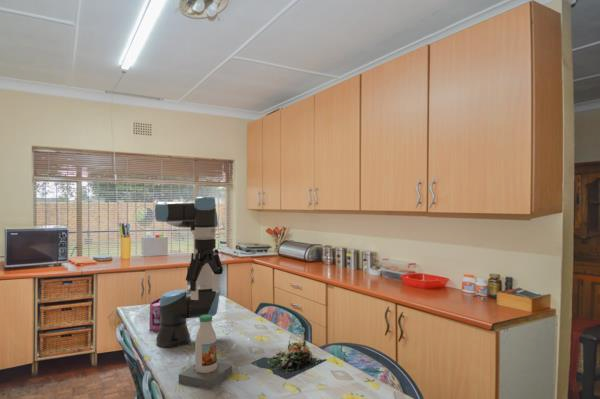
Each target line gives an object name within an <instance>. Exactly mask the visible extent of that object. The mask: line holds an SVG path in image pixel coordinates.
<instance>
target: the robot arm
mask: <svg viewBox="0 0 600 399" xmlns="http://www.w3.org/2000/svg"><path fill="white" fill-rule="evenodd" d="M216 208H217V206H216V198H215V197H213V196H197V197H195V199H194V201H181V202H180V201H179V202H177V201H174V202H173V201H171V202H169V201H162V202H156V203H155V205H154V217H155V221H156V222H158V223H159V222H160V223H167V225H170V226H173V227H177V228H182V229H183V228H184V229H185V228H190V233H192V234H193V253H191V256H190V257H191V258H190V263H189V267H188V269H187V270H188V271H187V274H186V276H185V281H186V282H189V286H190V287H189V291H190V292H187V291H186V289H175V290H170V291H167V292H164V293H163V294H162V295H161V296H160V297H159V298H160V329H159V330H158V332H157V336H156V339H155V344H156V345H157V346H158V347H160V348H176V347H181V346H184V345H186V344H188V343H190V342H191V333H190V332H189V328H188V324H187V319H197V318H200V316H201V315H212V317H214V316H216V315H217V313H218V309H219V300H220V299H219V298H220V280H221V279H220V278H221V277H220V275H222V274H223V271H224V268H223V264H222V262H221V258H220V255H219V249H218V248H216V246H217V243H216V228H217V227H219V221H218V214H217V209H216Z"/></svg>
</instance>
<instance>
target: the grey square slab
mask: <svg viewBox="0 0 600 399" xmlns="http://www.w3.org/2000/svg"><path fill="white" fill-rule="evenodd" d="M195 371H196V368H195V363H194V364H193V365H191V366H190V367H188V368H186V369H185V370H183V371H182V372H180V373H178V383H179V384H183V383H184V385H188V384H189V386H193V385H194V387H198V386H199V388H203V387H204V388H203V389H208V390H212V389H213V388H215V387H216V386H218V385H219V384H221V382H222V381H224V380H225V379H226V378H228V377H229V376H230V375H231V374H233V364H229V363H223V362H218V361H217V369H216V370H215V371H213V372H211V373H210V374H209V375H208V374H203V373H197V372H195Z"/></svg>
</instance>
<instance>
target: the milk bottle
mask: <svg viewBox="0 0 600 399" xmlns="http://www.w3.org/2000/svg"><path fill="white" fill-rule="evenodd" d="M198 318H199V319H198V320H199V328H198V330H197V333H196V335H195V346H194V347H195V349H194V350H195V351H194V353H195V356H194V358H195V359H194V360H195V363H194V364H195V368H196V371H197V372H198V373H210V372H213V371H215V370H216V368H217V362H218V361H217V359H218V358H217V357H218V356H217V354H218V352H217V351H218V350H217V348H218V347H217V334H216V332H215V329H214V327H213V324H212V322H213V316H212V315H201V316H200V317H198Z"/></svg>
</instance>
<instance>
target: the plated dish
mask: <svg viewBox="0 0 600 399" xmlns="http://www.w3.org/2000/svg"><path fill="white" fill-rule="evenodd" d="M290 342H291V340H290V339H289V341H288V345H287V348H286V350H287V351H286V353H285V352H279V353H276V354H275V355H276V356H274V355H273V356H272V357H271V356H270V357H266V356H265V357H264V356H263V357H261V358H258V359H256V360H254V361H252V362H250V364H251V365H253V366H254V367H257V368H260V369H267V370H270V371H271V372H272V374H273V375H275V376H277V377H279V378H281V379H284V380H290V379H292V378H294V377H296V376H298V375H299V374H301V373H302V374H303V373H304V372H306V371H308V370H311V369H313V368H315V367H317V366H319V365H320V364H323V363H325V362H327V361H328V359H327V358H323V359H322V358H318V356H317V355H316V357H314V356H313V354H312V352H311V350H310V348H309V346H308V345H307V340H306V335H304V336H303V341H300V340H298V342H295V341H294V342H292V343H290Z"/></svg>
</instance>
